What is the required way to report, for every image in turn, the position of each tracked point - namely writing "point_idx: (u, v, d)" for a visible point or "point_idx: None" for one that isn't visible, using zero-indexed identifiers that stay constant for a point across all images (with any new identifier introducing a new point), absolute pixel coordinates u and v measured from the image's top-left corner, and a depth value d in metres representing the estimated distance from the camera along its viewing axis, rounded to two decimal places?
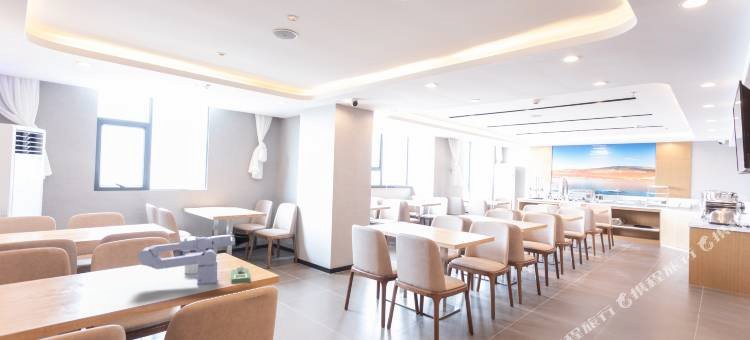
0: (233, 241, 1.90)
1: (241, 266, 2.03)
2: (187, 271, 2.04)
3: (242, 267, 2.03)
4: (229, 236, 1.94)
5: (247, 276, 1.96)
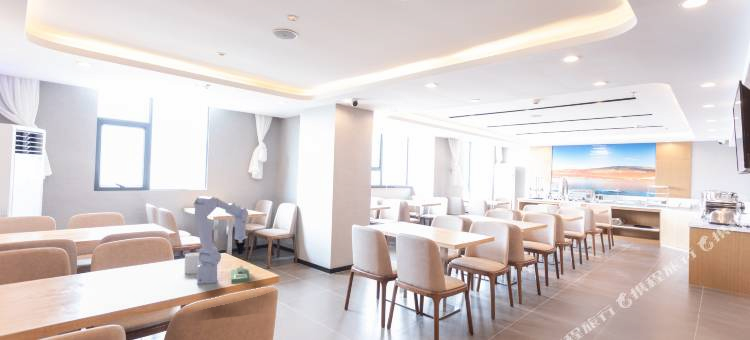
0: (241, 241, 2.05)
1: (241, 266, 2.03)
2: (187, 271, 2.04)
3: (242, 267, 2.03)
4: (244, 236, 2.11)
5: (247, 276, 1.96)
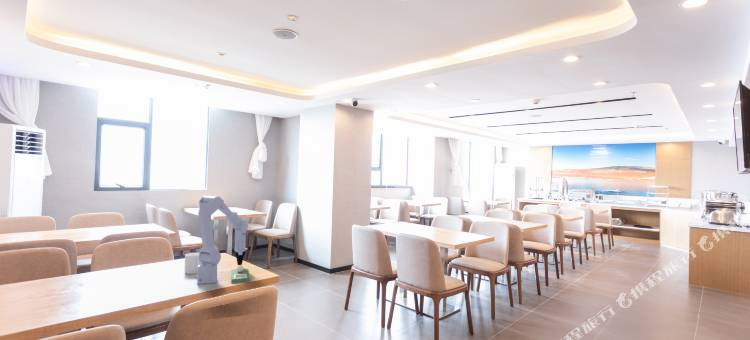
0: (241, 253, 2.05)
1: (241, 266, 2.03)
2: (187, 271, 2.04)
3: (242, 267, 2.03)
4: (244, 248, 2.11)
5: (247, 276, 1.96)
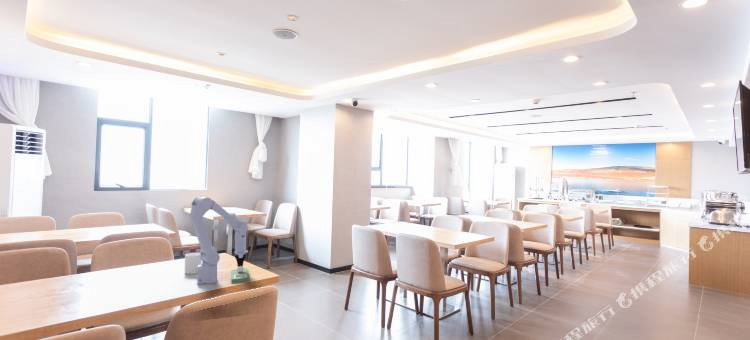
0: (241, 256, 1.98)
1: (241, 266, 2.03)
2: (187, 271, 2.04)
3: (242, 267, 2.03)
4: (244, 250, 2.04)
5: (247, 276, 1.96)
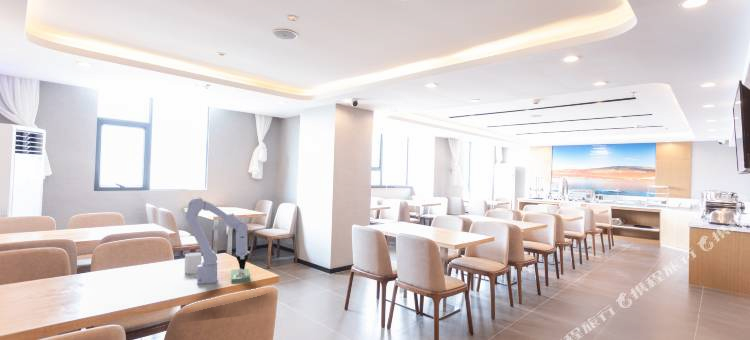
0: (243, 257, 1.93)
1: (242, 273, 2.00)
2: (187, 271, 2.04)
3: (243, 272, 2.01)
4: (246, 251, 1.99)
5: (247, 276, 1.96)
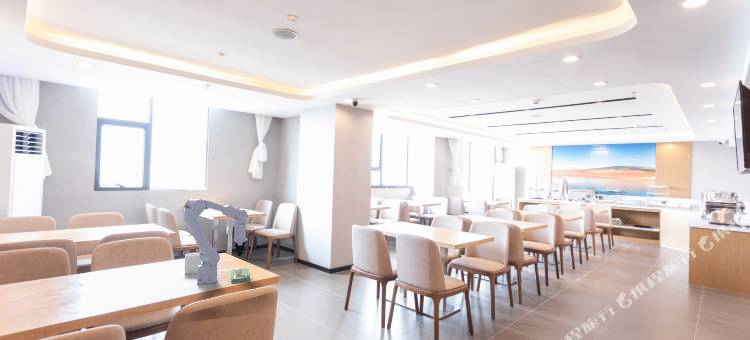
0: (241, 244, 1.99)
1: None
2: (187, 271, 2.04)
3: (241, 273, 1.99)
4: (244, 238, 2.04)
5: (247, 276, 1.96)
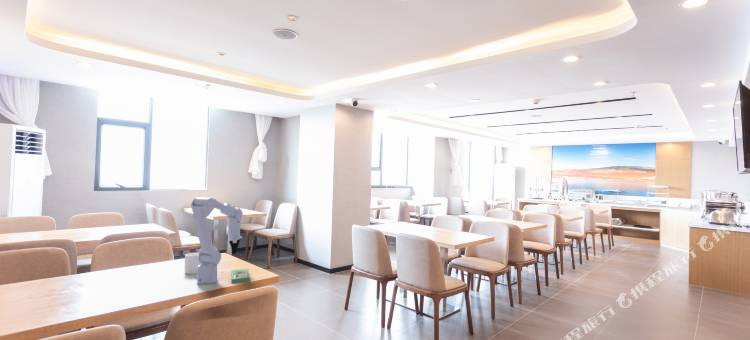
0: (235, 241, 2.04)
1: None
2: (187, 271, 2.04)
3: None
4: (238, 236, 2.10)
5: (247, 276, 1.96)
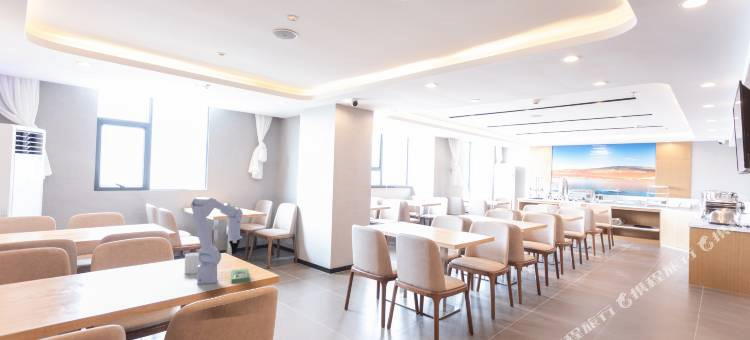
0: (235, 241, 2.04)
1: None
2: (187, 271, 2.04)
3: None
4: (238, 236, 2.10)
5: (247, 276, 1.96)
